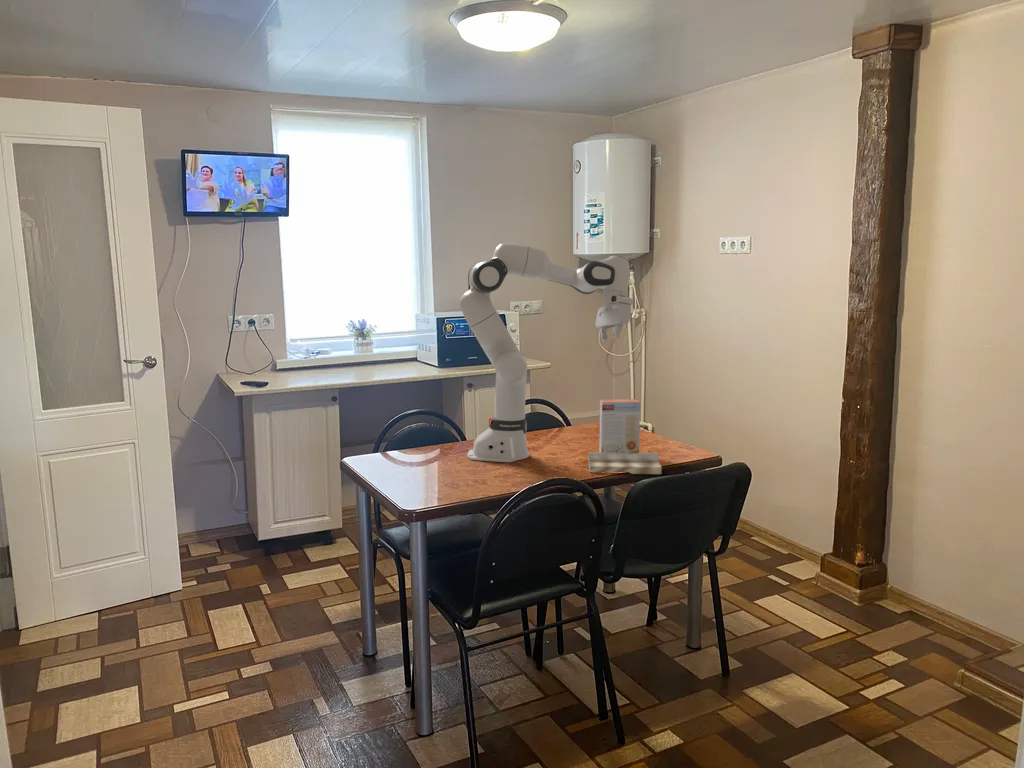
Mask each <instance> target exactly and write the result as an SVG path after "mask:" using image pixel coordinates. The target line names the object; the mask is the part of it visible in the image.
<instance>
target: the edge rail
mask: <svg viewBox="0 0 1024 768" xmlns="http://www.w3.org/2000/svg"><path fill="white" fill-rule="evenodd" d="M659 454H660V453H659V452H639V453H621V452H599V451H588V462H589V461H639V462H659V461H660V460H659V459H660V457H659V456H660V455H659ZM659 463H660V462H659Z"/></svg>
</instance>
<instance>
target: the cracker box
mask: <svg viewBox="0 0 1024 768" xmlns="http://www.w3.org/2000/svg"><path fill="white" fill-rule="evenodd" d="M640 420H641V401H640V400H639V399H637V398H636V399H634V398H633V399H632V398H630V399H629V398H628V399H627V398H625V399H623V398H622V399H621V398H620V399H617V398H616V399H615V398H614V399H599V443H598V444H599V445H598V449H599V451H598V452H621V453H640V427H641V421H640Z"/></svg>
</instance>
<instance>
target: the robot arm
mask: <svg viewBox="0 0 1024 768" xmlns="http://www.w3.org/2000/svg"><path fill="white" fill-rule="evenodd" d="M630 267H631V266H630V262H629V260H628V259H626V258H625V257H623V256H619V255H611V256H610V255H609V257H607V258H605V259H604V258H603V259H601V260H592V261H590V262H588V263H586V264H584V266H582V267H579V268H571V267H567V266H564V265H560V264H556V263H554V262H552V261H551V259H550V258H549V255H548V254H547V252H546V251H545V250H543V249H541V248H539V247H536V246H531V245H526V244H521V243H520V244H519V243H510V242H509V243H508V242H507V243H506V242H503V243H500V244H498V245H497V246H496V247H495V249H494V250H493V256H492V258H491V259H487V260H481V261H479V262H477V263H475V264H474V265H472V266H471V267H470V269H469V271H468V275H467V276H468V277H467V280H468V281H467V282H468V283H467V284H468V290H467V291H465V292H464V293H463V294H462V295H461V297H460V298H459V306H460V310H461V312H462V314H463V318H465V321H466V323H467V325H468V326H469V328H470V330H471V332H472V334H473V335H474V337H475V338H476V340H477V341H478V344H479V345H480V347H481V349H482V350H483V352H484V353H485V355H486V357H487V358H488V359H489V362H490V363H491V365H492V366H493V368H494V370H495V384H494V385H495V389H494V391H495V392H494V417H493V416H489V417H488V427H489V428H487V429H486V430H485V431H483V432H482V433H480V434H479V435H478V436H476V438H475V440H474V443H473V448H471V449H469V450H468V451H467V458H468V459H469V460H472V461H483V462H484V461H485V462H499V463H513V462H515V461H520V460H525V459H528V458H529V457H530V453H529V450H528V444H527V434H526V433H527V430H528V429H527V417H526V391H527V380H528V364H527V361H526V359H525V357H523V355H522V354H521V351H520V350H519V348H518V346H517V344H516V343H515V341H514V339H513V337H512V335H511V334H510V332H509V330H508V329H507V327H506V325H505V324H504V321H503V320H502V318H501V317H500V315H499V313H498V311H497V310H496V308H495V306H494V305H493V303H492V301H491V293H494V292H495V291H497V290H498V289H499V288H500V287H501V286H502V284H503V282H504V281H505V279H506V277H507V275H514V276H518V277H523V278H530V279H538V280H546V281H549V282H554V283H558V284H562V285H566V286H569V287H570V288H573V289H574V290H575V291H577V292H579V293H581V294H583V295H591V294H593V293H595V292H596V291H597V290H598V289H601V290H602V299H601V307H599V309H598V310H597V312H596V313H597V314H596V317H595V318H596V319H595V328H596V329H598V330H599V329H600V334H601V336H600V337H601V338H600V340H601V341H607V340H608V335H607V332H608V329H612V328H615V329H614V330H615V331H614V332H613V336H612V337H613V338H614V339H619V338H620V335H621V332H622V330H623V326H626V325H628V324H629V323H630V321H631V317H632V315H631V314H632V305H633V303H634V299H633V298H631V297H630V296H628V295H629V294H628V286H629V283H630V276H631V275H630V274H631V271H630V270H631V268H630Z"/></svg>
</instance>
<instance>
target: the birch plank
mask: <svg viewBox="0 0 1024 768" xmlns="http://www.w3.org/2000/svg"><path fill="white" fill-rule="evenodd" d="M588 465H589V466H588V469H590V470H589V473H590V472H629V473H631V474H632V475H635V474H636V475H662V471H663V467H662V465H661V463H660V462H639V461H589V460H588ZM631 474H630V475H631Z"/></svg>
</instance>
